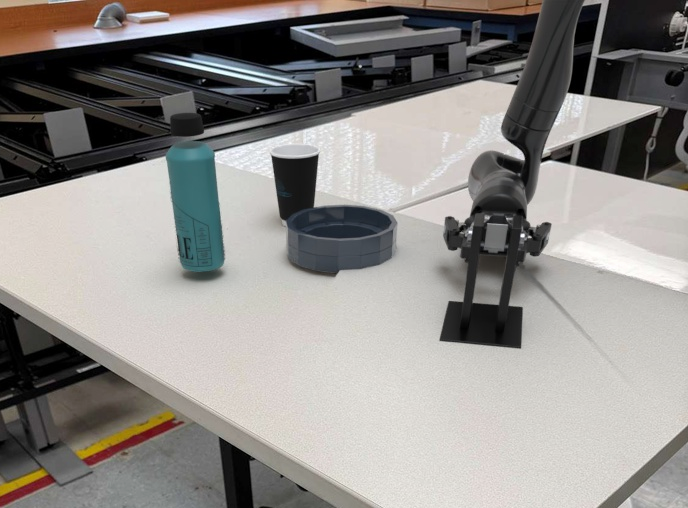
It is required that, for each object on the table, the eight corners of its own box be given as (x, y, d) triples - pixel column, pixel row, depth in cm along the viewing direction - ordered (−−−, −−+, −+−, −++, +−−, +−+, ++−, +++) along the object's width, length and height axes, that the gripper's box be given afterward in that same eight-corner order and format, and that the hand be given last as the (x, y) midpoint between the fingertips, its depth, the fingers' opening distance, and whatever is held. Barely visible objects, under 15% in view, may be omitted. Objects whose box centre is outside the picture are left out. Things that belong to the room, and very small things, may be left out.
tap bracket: (447, 309, 90) (459, 202, 81) (521, 315, 88) (541, 207, 80) (438, 348, 81) (451, 234, 73) (519, 356, 80) (541, 240, 71)
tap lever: (471, 258, 90) (474, 238, 89) (512, 261, 89) (515, 240, 88) (470, 246, 77) (473, 222, 76) (518, 249, 76) (521, 225, 75)
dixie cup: (265, 228, 114) (261, 154, 108) (281, 213, 120) (279, 142, 113) (312, 233, 113) (311, 157, 106) (326, 217, 118) (327, 144, 111)
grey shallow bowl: (383, 236, 111) (385, 202, 108) (404, 273, 99) (407, 237, 96) (283, 241, 110) (282, 207, 107) (292, 279, 98) (291, 243, 95)
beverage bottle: (235, 269, 101) (222, 110, 89) (211, 286, 97) (194, 121, 84) (195, 263, 103) (177, 106, 91) (171, 279, 99) (148, 117, 86)
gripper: (449, 181, 98) (435, 220, 85) (558, 186, 95) (561, 228, 82) (443, 237, 102) (429, 282, 90) (546, 243, 100) (548, 291, 87)
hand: (492, 256), depth 86 cm, fingers closed on tap lever, 5 cm apart
